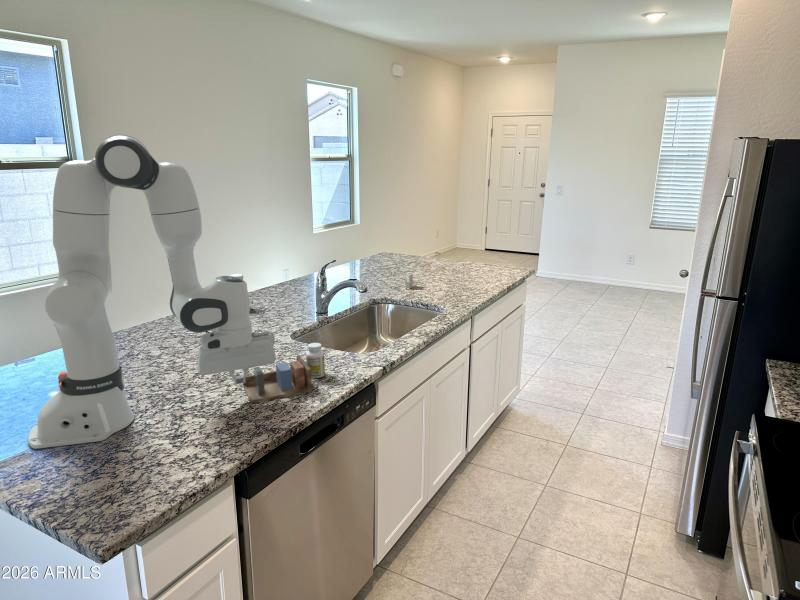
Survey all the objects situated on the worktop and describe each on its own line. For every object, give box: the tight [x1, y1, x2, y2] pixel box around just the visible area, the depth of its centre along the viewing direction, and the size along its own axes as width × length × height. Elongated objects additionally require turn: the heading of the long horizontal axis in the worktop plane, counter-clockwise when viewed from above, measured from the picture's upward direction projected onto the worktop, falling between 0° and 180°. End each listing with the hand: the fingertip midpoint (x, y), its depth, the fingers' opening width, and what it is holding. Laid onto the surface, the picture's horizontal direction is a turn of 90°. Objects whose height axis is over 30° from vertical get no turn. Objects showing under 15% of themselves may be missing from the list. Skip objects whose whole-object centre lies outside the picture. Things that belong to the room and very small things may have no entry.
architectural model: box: [402, 273, 414, 289], centre depth 265 cm, size 3×7×7 cm, turn 163°
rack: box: [242, 355, 313, 404], centre depth 152 cm, size 17×12×7 cm
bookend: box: [253, 366, 265, 395], centre depth 149 cm, size 2×6×6 cm, turn 26°
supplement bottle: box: [305, 342, 326, 379], centre depth 162 cm, size 5×5×10 cm
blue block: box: [275, 362, 292, 391], centre depth 152 cm, size 3×6×6 cm, turn 26°
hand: (239, 383), depth 147 cm, fingers closed
